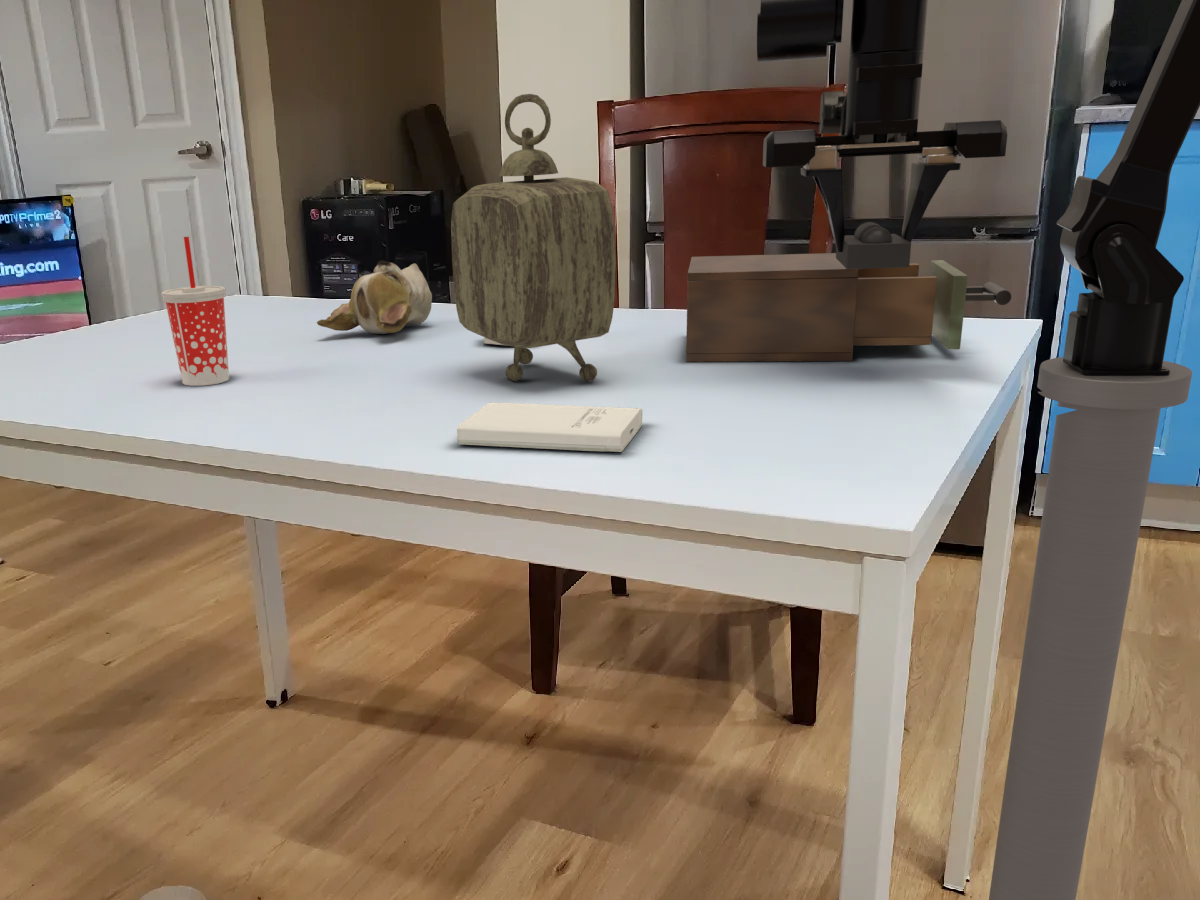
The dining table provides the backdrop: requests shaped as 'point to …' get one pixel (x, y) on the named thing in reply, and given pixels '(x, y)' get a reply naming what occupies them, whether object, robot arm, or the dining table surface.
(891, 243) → the raised capsule plate
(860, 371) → the dining table surface
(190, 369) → the beverage cup
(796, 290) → the cabinet
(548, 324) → the tabletop clock
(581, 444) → the hard drive
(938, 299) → the drawer
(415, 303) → the ceramic sculpture
